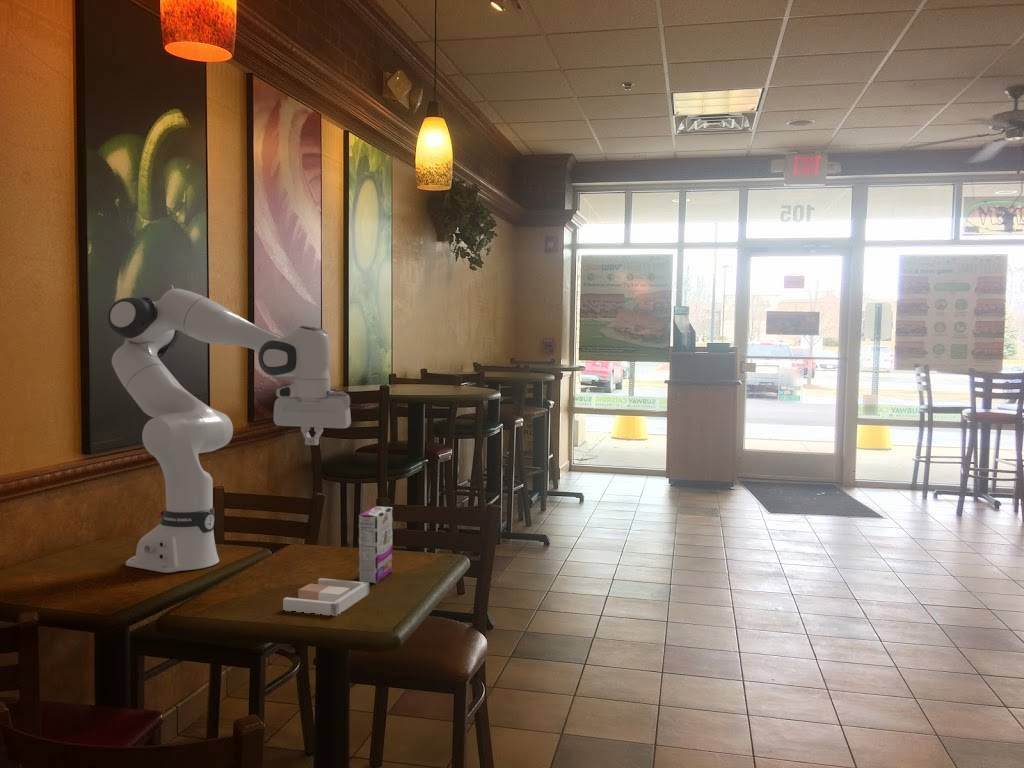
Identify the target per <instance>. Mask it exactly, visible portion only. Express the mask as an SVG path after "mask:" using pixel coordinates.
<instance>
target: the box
mask: <svg viewBox="0 0 1024 768" xmlns="http://www.w3.org/2000/svg"><path fill="white" fill-rule="evenodd" d="M317 584H319V585H329V586H335V587H345V588H350V592H348V593H347V594H345V595H344V596H342V597H341V598H339V599H338V600H336V601H334V602H328V601H318V600H308V599H298V598H297V597H288V596H286V597H284V598H283V601H282V611H283V610H285V612H291V611H296V612H295V613H301V612H304V613H303V614H310V613H315V614H314V615H320V614H322V615H323V616H330V615H332V616H331V617H337V616H338V614H339V615H340V614H342V613H343V612H345V611H347V609H349V608H350V607H352V606H354V604H356V603H358V602H359V601H361V600H362V599H363V598H365V597H367V596H368V595H369V594H370V583H368V582H359V581H356V580H355V581H354V580H345V579H336V578H335V579H333V578H324V577H323V578H318V579H317ZM341 612H342V613H341ZM322 615H321V616H322Z"/></svg>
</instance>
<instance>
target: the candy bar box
mask: <svg viewBox="0 0 1024 768" xmlns="http://www.w3.org/2000/svg"><path fill="white" fill-rule="evenodd" d="M393 509H394V508H393V507H392V506H380V505H379V506H374V507H372V508H370V509H367V510H365V511H364V512H363V513H360V514H359V515H358V582H368V583H369V584H378V583H380V582H381V581H382V580H383V579H384V578H386V577H387V576H389V575H390V574H391V573H392V572H394V570H393V569H394V568H393V567H394V565H393V564H394V563H393V559H394V557H393V553H394V552H393V544H394V543H393V542H394V541H393V540H394V538H393V533H394V531H393V528H394V526H393V524H394V523H393V521H394V520H393Z"/></svg>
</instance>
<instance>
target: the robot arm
mask: <svg viewBox="0 0 1024 768" xmlns="http://www.w3.org/2000/svg"><path fill="white" fill-rule="evenodd" d="M106 318H107V323H108V324H107V325H108V326H109V328H110V329H111V330H112V332H113V333H115V334H116V335H117V336H119V337H121V338H123V339H125V340H124V342H123V344H122V345H121V346H120V347H118V348H117V349H116V350H115V352H114V353H113V355H112V357H111V366H112V367H113V369H114V372H115V373H116V375H117V377H118V379H119V381H120V383H121V384H122V386H123V387H124V389H125V390H126V392H127V393H128V394H129V395H130V396H131V398H132V399H133V400H134V401H135V403H136V404H137V405H138V407H139V408H140V410H142V412H144V414H146V415H147V416H149V417H151V418H150V419H149V420H148V421H147V422H146V423H145V424H144V425H143V426H144V427H143V429H142V435H141V436H142V437H141V440H142V444H143V446H144V448H145V450H146V451H147V452H148V453H149V454H150V455H152V456H153V457H154V458H155V459H156V461H157V462H158V465H159V466H160V468H161V470H162V473H163V476H164V482H165V483H164V484H165V509H164V510H162V511H161V512H156V515H157V516H156V518H160V520H159V524H158V525H156V526H155V527H154V528H153V529H151V530H150V531H149V532H147V533H146V534H145V535H144V536H142V537H141V538H140V539H139V540H138V542H137V546H136V552H135V555H134V556H132V557H130V558H128V559H127V560H126V561H125V566H126V567H131V568H138V569H142V570H148V571H154V572H159V573H164V574H166V573H167V574H168V573H176V572H181V571H191V570H200V569H205V568H209V567H211V566H214V565H216V564H218V563H219V562H220V558H219V555H218V551H217V547H216V541H215V533H214V527H215V520H216V518H215V507H214V506H213V502H214V500H213V499H214V498H213V496H214V495H213V494H214V493H213V490H214V489H213V488H214V487H213V485H214V483H213V482H214V481H213V477H212V475H211V474H210V473H209V472H207V471H205V470H204V469H203V467H202V465H201V463H200V458H199V454H204V453H210V452H214V451H216V450H218V449H221V448H223V447H225V446H227V445H228V444H229V443H230V442H231V440H232V438H233V433H234V426H233V422H232V420H231V418H230V417H229V416H228V415H227V414H226V413H223V412H222V411H219V410H217V409H214V408H212V407H210V406H209V405H207V404H206V403H204V402H203V401H202V400H200V399H198V398H197V397H196V396H194V395H193V394H191V392H189V391H188V390H187V389H185V387H184V386H183V385H181V384H180V382H179V381H178V380H177V379H176V378H175V376H174V375H173V374H172V373H171V372H170V370H169V369H168V367H166V366H165V364H164V363H163V362H162V361H161V359H160V358H161V357H164V356H165V355H166V354H167V352H168V351H169V350H171V349H172V348H173V347H174V346H175V345H176V344H177V341H178V340H179V338H180V334H181V333H183V334H185V335H187V336H189V337H190V338H193V339H195V340H197V341H200V342H203V343H207V344H212V345H221V346H224V345H225V346H237V347H244V348H248V349H252V350H254V351H255V352H258V357H257V361H258V364H259V367H260V368H261V370H262V372H264V373H265V374H266V375H268V376H272V377H276V378H281V377H285V378H287V377H294V383H291V384H289V385H286V386H282V387H278V388H277V389H276V392H275V395H276V397H278V398H276V399H275V401H274V405H273V422H274V424H275V425H276V426H279V427H280V426H281V427H282V426H283V427H299V428H300V431H301V433H302V436H303V437H304V439H305V440H304V444H305V445H308V446H318V445H319V444H320V437H321V436H322V434H323V433H324V428H325V429H326V428H327V429H347V428H349V427H350V426H351V423H352V417H351V409H350V408H351V407H350V406H351V397H350V395H349V394H347V393H346V392H345V391H342V390H341V391H335V390H331V375H330V365H331V343H330V342H331V341H330V337H329V334H328V332H327V331H326V330H324V329H323V328H318V327H313V326H307V325H306V326H305V325H301V326H298V327H297V328H296V329H295V330H294V331H292V332H291V333H288V334H286V335H284V336H281V335H279V334H277V333H274V332H272V331H270V330H268V329H265V328H263V327H261V326H259V325H257V324H254V323H252V322H250V321H249V320H247V319H245V318H243V317H242V316H240V315H238V314H237V313H235V312H234V311H232V310H229V308H227V307H225V306H223V305H221V304H220V303H218V302H216V301H214V300H213V299H211V298H208V297H206V296H204V295H201V294H199V293H196V292H193V291H191V290H187V289H183V288H171V289H168V290H167V291H166V292H164V293H163V295H161V297H160V298H159V300H157V301H156V300H155V301H154V300H153V298H151V297H149V296H144V297H124V298H121V299H118V300H116V301H114V303H112V304H111V306H110V307H109V309H108V312H107V317H106ZM180 332H181V333H180ZM311 428H313V431H314V432H315V433H314V435H313V437H312V436H311V434H310V432H309V431H311Z"/></svg>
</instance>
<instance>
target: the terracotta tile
mask: <svg viewBox="0 0 1024 768" xmlns="http://www.w3.org/2000/svg"><path fill="white" fill-rule="evenodd" d="M328 586H329V585H319V584H318V583H309V584H306V585H305V586H303V587H301V588H299V589H298V591H297V592H298V593H297V594H298V595H297V597H298V599H308V600H318V596H319V592H320V591H322V590H323V589H325V588H327V587H328Z"/></svg>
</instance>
